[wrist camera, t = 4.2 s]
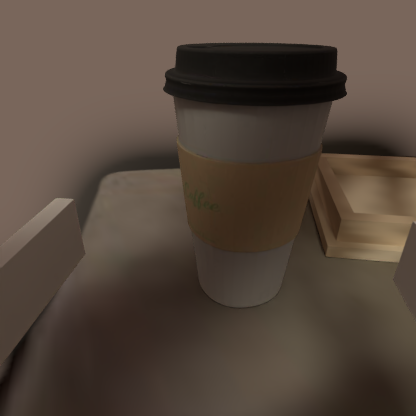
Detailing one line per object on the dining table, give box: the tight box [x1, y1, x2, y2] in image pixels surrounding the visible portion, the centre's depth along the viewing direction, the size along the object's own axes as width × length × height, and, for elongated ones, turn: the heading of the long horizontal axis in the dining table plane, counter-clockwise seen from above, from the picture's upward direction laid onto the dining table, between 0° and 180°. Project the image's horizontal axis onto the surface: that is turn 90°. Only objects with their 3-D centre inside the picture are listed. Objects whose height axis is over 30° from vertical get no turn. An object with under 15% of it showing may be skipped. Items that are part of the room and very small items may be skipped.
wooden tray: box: [309, 153, 416, 263], centre depth 32 cm, size 17×17×3 cm
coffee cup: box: [163, 43, 347, 308], centre depth 20 cm, size 9×9×15 cm
